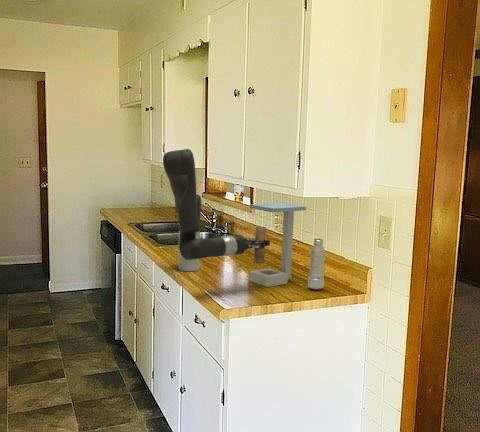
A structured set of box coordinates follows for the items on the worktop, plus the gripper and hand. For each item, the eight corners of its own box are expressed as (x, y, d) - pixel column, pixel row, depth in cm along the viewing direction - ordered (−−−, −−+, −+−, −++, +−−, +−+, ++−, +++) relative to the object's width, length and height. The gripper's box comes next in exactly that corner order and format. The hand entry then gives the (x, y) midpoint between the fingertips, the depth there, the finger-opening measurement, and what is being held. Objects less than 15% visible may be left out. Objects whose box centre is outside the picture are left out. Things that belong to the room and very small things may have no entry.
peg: (252, 261, 208) (254, 226, 206) (262, 261, 208) (264, 226, 207) (255, 263, 204) (257, 227, 202) (265, 263, 205) (267, 228, 203)
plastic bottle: (320, 286, 211) (323, 237, 208) (326, 291, 204) (329, 241, 202) (305, 286, 210) (307, 237, 207) (310, 291, 203) (313, 240, 200)
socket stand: (269, 287, 206) (272, 208, 202) (247, 279, 217) (250, 204, 213) (302, 281, 217) (306, 206, 213) (279, 274, 228) (283, 202, 224)
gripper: (242, 238, 190) (277, 235, 201) (219, 232, 202) (254, 229, 212) (241, 259, 191) (276, 254, 202) (219, 251, 203) (253, 247, 213)
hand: (265, 241), depth 207 cm, fingers closed on peg, 4 cm apart
